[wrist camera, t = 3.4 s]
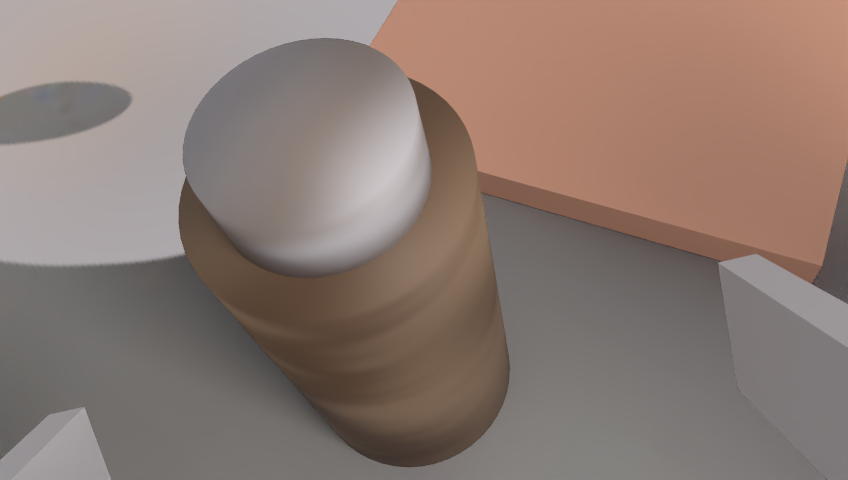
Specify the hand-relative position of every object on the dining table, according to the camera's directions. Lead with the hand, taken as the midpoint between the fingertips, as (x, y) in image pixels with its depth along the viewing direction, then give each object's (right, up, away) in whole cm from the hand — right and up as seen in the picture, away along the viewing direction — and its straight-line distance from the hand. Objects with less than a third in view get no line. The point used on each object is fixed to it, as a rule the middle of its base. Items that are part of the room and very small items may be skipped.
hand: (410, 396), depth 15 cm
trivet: (+8, +11, +18) cm, 23 cm away
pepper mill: (0, -2, +12) cm, 12 cm away
